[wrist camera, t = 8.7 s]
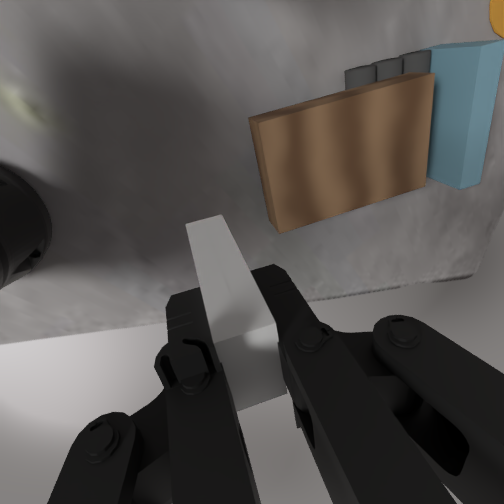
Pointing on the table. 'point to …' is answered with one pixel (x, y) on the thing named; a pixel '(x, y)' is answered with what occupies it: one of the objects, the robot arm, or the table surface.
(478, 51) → the block
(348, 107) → the slab
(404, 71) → the cylinder
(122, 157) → the table surface
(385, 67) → the roller mid
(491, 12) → the cup
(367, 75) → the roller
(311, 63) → the table surface
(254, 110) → the table surface
